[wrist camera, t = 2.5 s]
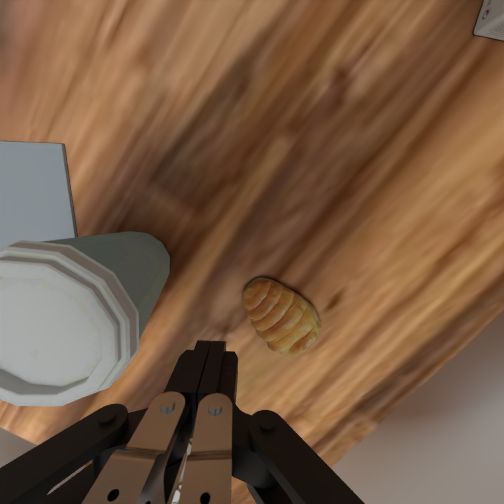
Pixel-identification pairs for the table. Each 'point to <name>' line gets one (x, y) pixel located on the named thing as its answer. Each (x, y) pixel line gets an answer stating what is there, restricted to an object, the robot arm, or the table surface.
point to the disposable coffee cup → (74, 313)
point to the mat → (34, 193)
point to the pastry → (281, 316)
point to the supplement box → (491, 20)
